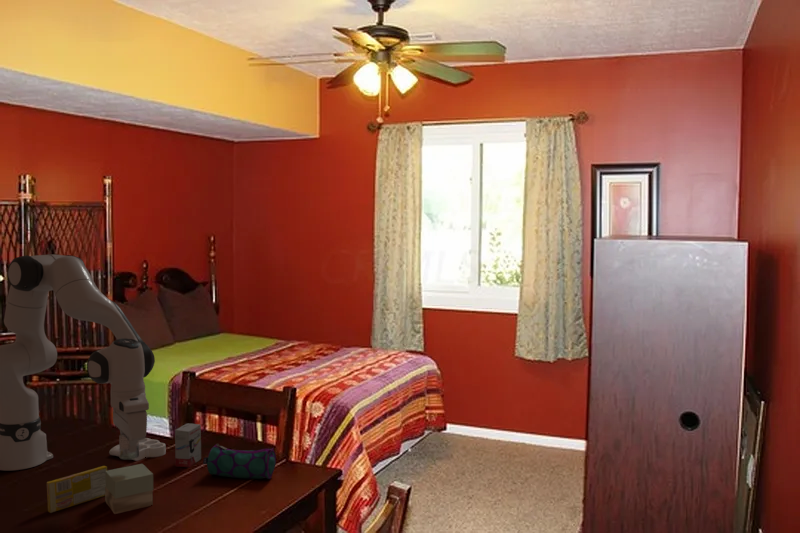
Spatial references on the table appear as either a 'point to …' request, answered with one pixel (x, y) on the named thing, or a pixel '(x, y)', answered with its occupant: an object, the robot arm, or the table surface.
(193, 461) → the ink box
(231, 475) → the pencil case
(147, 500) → the birch block
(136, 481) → the sage block
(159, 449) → the knuckle duster
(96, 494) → the candy box
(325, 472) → the table surface
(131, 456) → the metal cylinder
